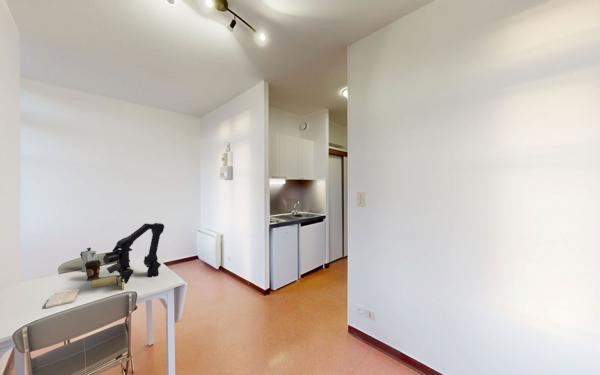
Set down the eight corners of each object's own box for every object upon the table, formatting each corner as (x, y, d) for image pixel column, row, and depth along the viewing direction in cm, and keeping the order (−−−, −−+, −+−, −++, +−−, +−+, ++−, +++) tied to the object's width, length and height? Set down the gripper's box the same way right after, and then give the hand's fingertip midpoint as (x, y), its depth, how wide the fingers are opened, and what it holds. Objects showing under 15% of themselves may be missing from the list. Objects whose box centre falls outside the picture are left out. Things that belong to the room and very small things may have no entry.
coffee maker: (101, 268, 179) (101, 246, 178) (88, 273, 170) (88, 250, 170) (87, 267, 182) (87, 245, 182) (74, 271, 173) (74, 248, 173)
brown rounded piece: (90, 282, 155) (90, 264, 155) (81, 281, 157) (81, 263, 156) (104, 277, 164) (103, 259, 163) (95, 275, 165) (94, 258, 165)
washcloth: (80, 291, 144) (80, 286, 144) (75, 303, 129) (75, 298, 129) (54, 296, 137) (54, 291, 136) (44, 310, 122) (44, 304, 122)
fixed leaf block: (117, 281, 156) (117, 274, 156) (115, 283, 153) (115, 276, 153) (94, 285, 151) (94, 278, 151) (92, 287, 147) (92, 280, 147)
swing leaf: (115, 283, 153) (115, 275, 153) (120, 282, 155) (120, 274, 155) (120, 290, 143) (120, 282, 143) (125, 288, 145) (125, 280, 145)
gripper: (105, 258, 148) (105, 281, 149) (111, 265, 136) (111, 290, 137) (125, 254, 157) (126, 276, 157) (133, 260, 145) (133, 284, 145)
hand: (124, 281), depth 149 cm, fingers open, 9 cm apart
